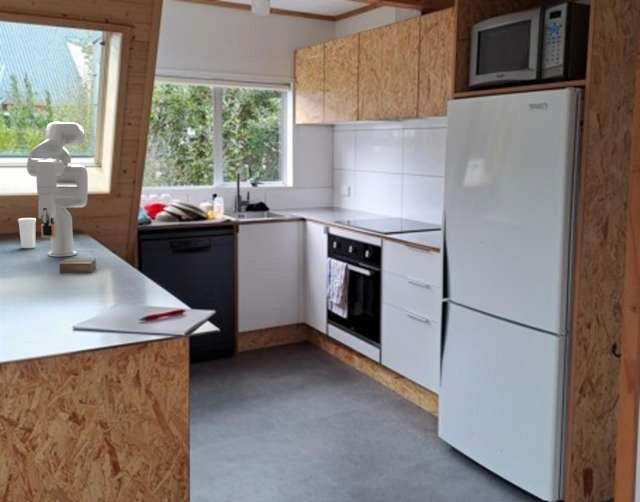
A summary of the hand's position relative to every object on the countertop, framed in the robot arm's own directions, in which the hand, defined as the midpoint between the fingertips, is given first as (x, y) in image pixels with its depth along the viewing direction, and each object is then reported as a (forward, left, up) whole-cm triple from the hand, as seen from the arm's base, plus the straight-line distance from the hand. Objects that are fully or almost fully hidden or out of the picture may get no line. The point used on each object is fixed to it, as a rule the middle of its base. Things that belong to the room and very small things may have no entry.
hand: (49, 233), depth 274 cm
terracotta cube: (0, 0, -1) cm, 1 cm away
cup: (-51, -22, -15) cm, 58 cm away
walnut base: (+5, +12, -15) cm, 20 cm away
